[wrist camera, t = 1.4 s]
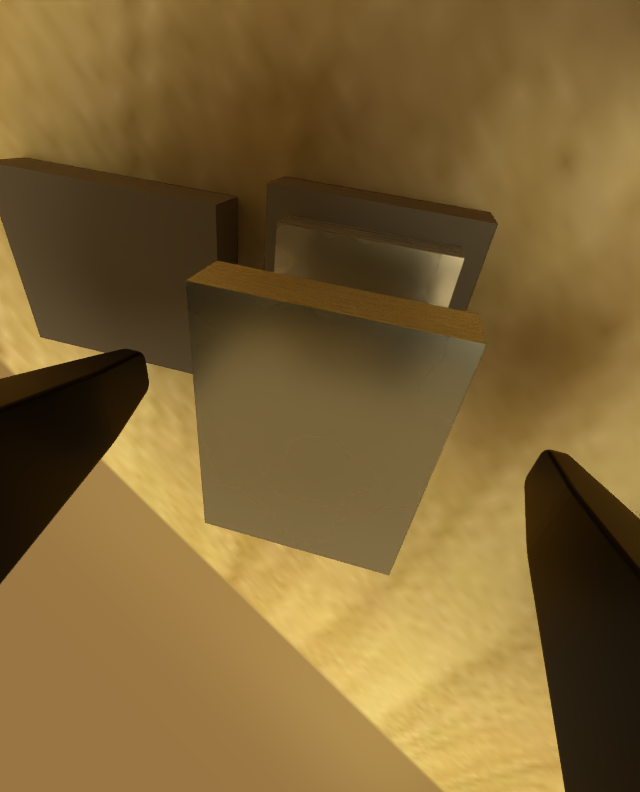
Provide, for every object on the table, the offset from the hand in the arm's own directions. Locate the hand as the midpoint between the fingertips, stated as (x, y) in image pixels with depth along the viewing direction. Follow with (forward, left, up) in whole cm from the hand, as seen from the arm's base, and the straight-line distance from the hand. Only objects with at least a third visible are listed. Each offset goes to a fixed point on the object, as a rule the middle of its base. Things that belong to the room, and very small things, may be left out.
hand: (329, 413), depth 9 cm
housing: (0, 0, -4) cm, 4 cm away
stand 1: (+8, 0, -6) cm, 10 cm away
